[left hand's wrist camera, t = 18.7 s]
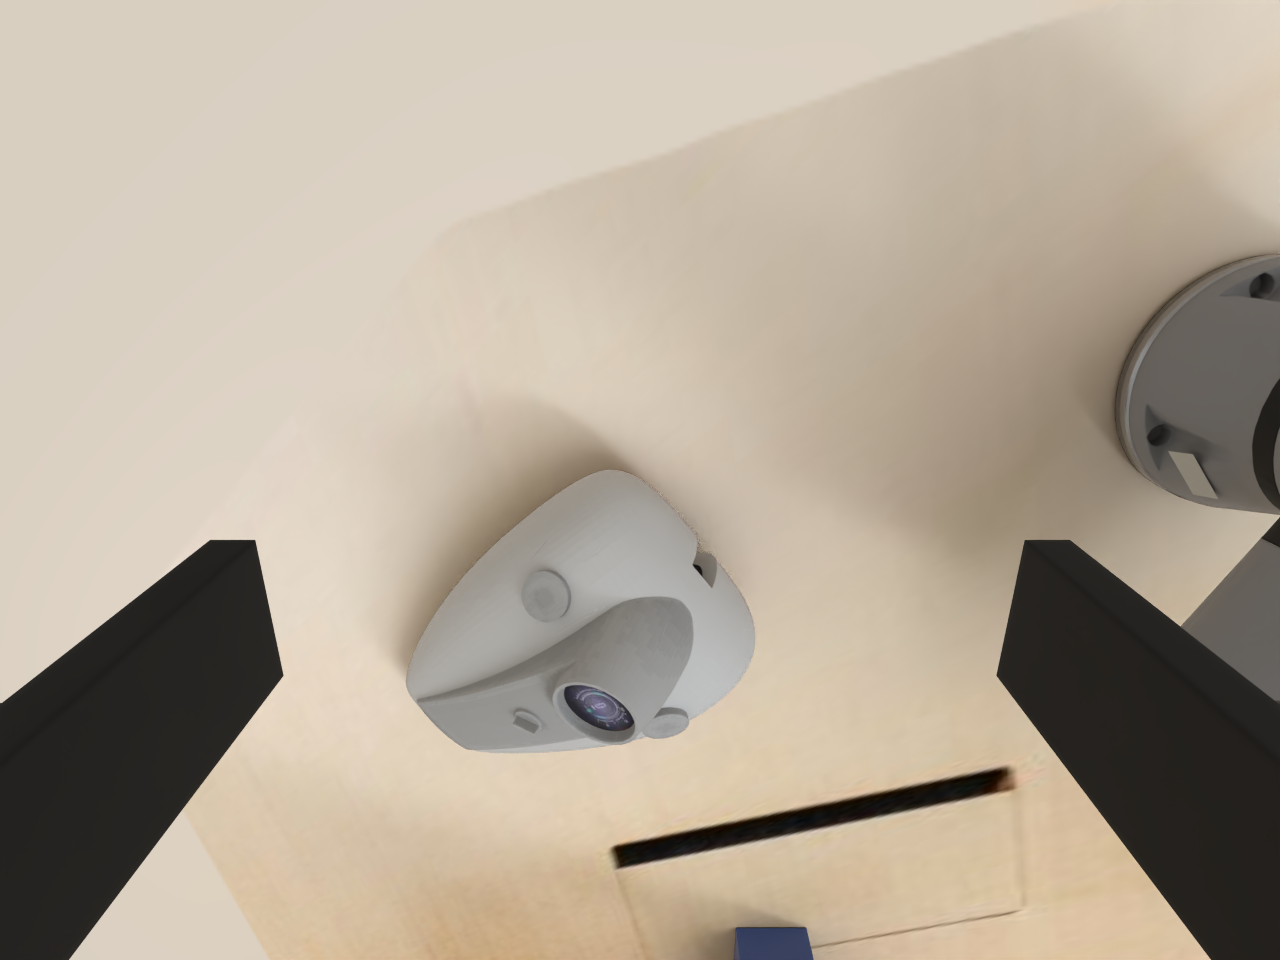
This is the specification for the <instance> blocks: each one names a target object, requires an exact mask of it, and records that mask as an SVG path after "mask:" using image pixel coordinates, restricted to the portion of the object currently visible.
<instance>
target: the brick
mask: <svg viewBox="0 0 1280 960" xmlns="http://www.w3.org/2000/svg"><path fill="white" fill-rule="evenodd" d="M734 960H814V959H813V955H812V951H811V946H810V942H809V938H808V933H807V929H806V928H736V934H735V950H734Z"/></svg>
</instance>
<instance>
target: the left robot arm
mask: <svg viewBox="0 0 1280 960" xmlns="http://www.w3.org/2000/svg"><path fill="white" fill-rule="evenodd" d="M1115 415H1116V425H1117V431H1118V435H1119V439H1120V442H1121V444H1122V447H1123V449H1124V451H1125V453H1126V455H1127V457H1128V458H1129V460H1130V461H1131V463H1132V464H1133V465H1134V467H1135V468H1136V469H1137V470H1138V471H1139V472H1140V473H1141V474H1142V475H1143V476H1145V477H1146V478H1147V479H1148V480H1150V481H1151V482H1153V483H1154V484H1156V485H1157V486H1159V487H1161V488H1163V489H1165V490H1167V491H1168V492H1170V493H1172V494H1174V495H1177V496H1179V497H1181V498H1184V499H1187V500H1190V501H1193V502H1196V503H1199V504H1203V505H1206V506H1211V507H1217V508H1226V509H1235V510H1243V511H1252V512H1260V513H1269V514H1277V515H1280V254H1275V255H1263V256H1257V257H1252V258H1248V259H1244V260H1240V261H1237V262H1234V263H1231V264H1228V265H1226V266H1223V267H1221V268H1219V269H1217V270H1214V271H1212V272H1210V273H1209V274H1207V275H1205V276H1203V277H1201V278H1200V279H1198V280H1196V281H1195V282H1193V283H1192V284H1190V285H1189V286H1187V287H1186V288H1185V289H1183V290H1182V291H1181V292H1179V293H1178V294H1177V295H1176V296H1175V297H1173V298H1172V299H1171V300H1170V301H1169V302H1168V303H1167V304H1166V305H1165V306H1164V307H1163V308H1162V309H1161V310H1160V311H1159V312H1158V313H1157V314H1156V315H1155V316H1154V317H1153V319H1152V320H1151V321H1150V322H1149V324H1148V325H1147V326H1146V327H1145V329H1144V330H1143V332H1142V333H1141V335H1140V336H1139V337H1138V339H1137V341H1136V343H1135V344H1134V346H1133V348H1132V350H1131V352H1130V354H1129V356H1128V358H1127V360H1126V362H1125V365H1124V368H1123V370H1122V373H1121V377H1120V380H1119V384H1118V389H1117V395H1116V405H1115ZM1271 543H1272V544H1271ZM1273 544H1274V545H1273ZM1275 545H1276V546H1275ZM1277 546H1278V547H1277ZM1279 547H1280V518H1279V519H1278V520H1277V521H1276V522H1275V523H1274V524H1273V526H1272V527H1271V528H1270V529H1269V530H1268V531H1267V532H1266V533H1265V535H1264V536H1262V537H1261V539H1260V540H1259V541H1258V542H1257V543H1256V544H1255V546H1254V547H1253V548H1252V549H1251V550H1250V551H1249V552H1248V553H1247V554H1246V555H1245V556H1244V558H1243V559H1242V560H1241V561H1240V562H1239V563H1238V564H1237V565H1236V566H1235V567H1234V569H1233V570H1232V571H1231V572H1230V573H1229V574H1228V575H1227V576H1226V577H1225V578H1224V580H1223V581H1222V582H1221V583H1220V584H1219V585H1218V586H1217V587H1216V588H1215V589H1214V591H1213V592H1212V593H1211V594H1210V595H1209V596H1208V597H1207V598H1206V599H1205V600H1204V602H1203V603H1202V604H1201V605H1200V606H1199V607H1198V608H1197V609H1196V610H1195V611H1194V612H1193V614H1192V615H1191V616H1190V617H1189V618H1188V619H1187V620H1186V621H1185V622H1184V623H1183V625H1182V626H1181V627H1180V626H1179V625H1178V624H1176V623H1175V622H1174V621H1172V620H1171V619H1170V618H1169V617H1167V616H1166V615H1165V614H1164V613H1162V612H1161V611H1160V610H1158V609H1157V608H1156V607H1155V606H1153V605H1152V604H1151V603H1149V602H1148V601H1147V600H1146V599H1144V598H1143V597H1142V596H1141V595H1139V594H1138V593H1137V592H1135V591H1134V590H1133V589H1132V588H1130V587H1129V586H1128V585H1126V584H1125V583H1124V582H1123V581H1121V580H1120V579H1119V578H1118V577H1116V576H1115V575H1114V574H1112V573H1111V572H1110V571H1109V570H1107V569H1106V568H1105V567H1103V566H1102V565H1101V564H1100V563H1098V562H1097V561H1096V560H1095V559H1093V558H1092V557H1091V556H1089V555H1088V554H1087V553H1086V552H1084V551H1083V550H1082V549H1081V548H1079V547H1078V546H1077V545H1075V544H1074V543H1073V542H1072V541H1070V540H1025V542H1024V546H1023V551H1022V556H1021V561H1020V566H1019V570H1018V575H1017V580H1016V585H1015V590H1014V594H1013V599H1012V604H1011V609H1010V614H1009V618H1008V623H1007V628H1006V633H1005V638H1004V642H1003V647H1002V652H1001V657H1000V662H999V666H998V671H997V677H998V678H999V680H1000V681H1001V682H1002V684H1003V685H1004V686H1005V687H1006V689H1007V690H1008V691H1009V693H1010V694H1011V695H1012V697H1013V698H1014V699H1015V701H1016V702H1017V703H1018V705H1019V706H1020V707H1021V709H1022V710H1023V711H1024V713H1025V714H1026V715H1027V717H1028V718H1029V719H1030V721H1031V722H1032V723H1033V725H1034V726H1035V727H1036V729H1037V730H1038V731H1039V732H1040V734H1041V735H1042V736H1043V738H1044V739H1045V740H1046V742H1047V743H1048V744H1049V746H1050V747H1051V748H1052V750H1053V751H1054V752H1055V754H1056V755H1057V756H1058V758H1059V759H1060V760H1061V762H1062V763H1063V764H1064V766H1065V767H1066V768H1067V770H1068V771H1069V772H1070V774H1071V775H1072V776H1073V778H1074V779H1075V780H1076V781H1077V783H1078V784H1079V785H1080V787H1081V788H1082V789H1083V791H1084V792H1085V793H1086V795H1087V796H1088V797H1089V799H1090V800H1091V801H1092V803H1093V804H1094V805H1095V807H1096V808H1097V809H1098V811H1099V812H1100V813H1101V815H1102V816H1103V817H1104V819H1105V820H1106V821H1107V823H1108V824H1109V825H1110V826H1111V828H1112V829H1113V830H1114V832H1115V833H1116V834H1117V836H1118V837H1119V838H1120V840H1121V841H1122V842H1123V844H1124V845H1125V846H1126V848H1127V849H1128V850H1129V852H1130V853H1131V854H1132V856H1133V857H1134V858H1135V860H1136V861H1137V862H1138V864H1139V865H1140V866H1141V868H1142V869H1143V870H1144V871H1145V873H1146V874H1147V875H1148V877H1149V878H1150V879H1151V881H1152V882H1153V883H1154V885H1155V886H1156V887H1157V889H1158V890H1159V891H1160V893H1161V894H1162V895H1163V897H1164V898H1165V899H1166V901H1167V902H1168V903H1169V905H1170V906H1171V907H1172V909H1173V910H1174V911H1175V913H1176V914H1177V915H1178V916H1179V918H1180V919H1181V920H1182V922H1183V923H1184V924H1185V926H1186V927H1187V928H1188V930H1189V931H1190V932H1191V934H1192V935H1193V936H1194V938H1195V939H1196V940H1197V942H1198V943H1199V944H1200V946H1201V947H1202V948H1203V950H1204V951H1205V952H1206V954H1207V955H1208V956H1209V958H1210V959H1211V960H1280V548H1279ZM282 677H283V671H282V666H281V662H280V657H279V652H278V647H277V642H276V638H275V633H274V628H273V623H272V618H271V614H270V609H269V604H268V599H267V594H266V590H265V585H264V580H263V575H262V570H261V566H260V561H259V556H258V551H257V546H256V542H255V540H210V541H208V542H207V543H206V544H205V545H203V546H202V547H201V548H199V549H198V550H197V551H196V552H194V553H193V554H192V555H191V556H189V557H188V558H187V559H185V560H184V561H183V562H182V563H180V564H179V565H178V566H176V567H175V568H174V569H173V570H171V571H170V572H169V573H168V574H166V575H165V576H164V577H162V578H161V579H160V580H159V581H157V582H156V583H155V584H154V585H152V586H151V587H150V588H148V589H147V590H146V591H145V592H143V593H142V594H141V595H139V596H138V597H137V598H136V599H134V600H133V601H132V602H131V603H129V604H128V605H127V606H125V607H124V608H123V609H122V610H120V611H119V612H118V613H116V614H115V615H114V616H113V617H111V618H110V619H109V620H108V621H106V622H105V623H104V624H102V625H101V626H100V627H99V628H97V629H96V630H95V631H93V632H92V633H91V634H90V635H88V636H87V637H86V638H85V639H83V640H82V641H81V642H79V643H78V644H77V645H76V646H74V647H73V648H72V649H70V650H69V651H68V652H67V653H65V654H64V655H63V656H62V657H60V658H59V659H58V660H56V661H55V662H54V663H53V664H51V665H50V666H49V667H47V668H46V669H45V670H44V671H42V672H41V673H40V674H39V675H37V676H36V677H35V678H33V679H32V680H31V681H30V682H28V683H27V684H26V685H24V686H23V687H22V688H21V689H19V690H18V691H17V692H16V693H14V694H13V695H12V696H11V697H9V698H8V699H7V700H5V701H4V702H3V703H0V960H69V959H70V957H71V956H72V955H73V954H74V952H75V951H76V950H77V948H78V947H79V946H80V944H81V943H82V942H83V940H84V939H85V938H86V936H87V935H88V934H89V932H90V931H91V930H92V928H93V927H94V926H95V924H96V923H97V922H98V920H99V919H100V918H101V916H102V915H103V914H104V912H105V911H106V910H107V909H108V907H109V906H110V904H111V903H112V902H113V901H114V899H115V898H116V897H117V895H118V894H119V893H120V891H121V890H122V889H123V887H124V886H125V885H126V883H127V882H128V881H129V879H130V878H131V877H132V875H133V874H134V873H135V871H136V870H137V869H138V868H139V866H140V865H141V864H142V862H143V861H144V860H145V858H146V857H147V856H148V854H149V853H150V852H151V850H152V849H153V848H154V846H155V845H156V844H157V842H158V841H159V840H160V838H161V837H162V836H163V834H164V833H165V832H166V830H167V829H168V828H169V826H170V825H171V824H172V823H173V821H174V820H175V818H176V817H177V816H178V814H179V813H180V812H181V811H182V809H183V808H184V807H185V805H186V804H187V803H188V801H189V800H190V799H191V797H192V796H193V795H194V793H195V792H196V791H197V789H198V788H199V787H200V785H201V784H202V783H203V781H204V780H205V779H206V777H207V776H208V775H209V774H210V772H211V771H212V770H213V768H214V767H215V766H216V764H217V763H218V762H219V760H220V759H221V758H222V756H223V755H224V754H225V752H226V751H227V750H228V748H229V747H230V746H231V744H232V743H233V742H234V740H235V739H236V738H237V736H238V735H239V734H240V732H241V731H242V730H243V729H244V727H245V726H246V725H247V723H248V722H249V721H250V719H251V718H252V717H253V715H254V714H255V713H256V711H257V710H258V709H259V707H260V706H261V705H262V703H263V702H264V701H265V699H266V698H267V697H268V695H269V694H270V693H271V691H272V690H273V689H274V687H275V686H276V685H277V684H278V682H279V681H280V680H281V678H282Z"/></svg>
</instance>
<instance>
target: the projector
mask: <svg viewBox="0 0 1280 960" xmlns="http://www.w3.org/2000/svg"><path fill="white" fill-rule="evenodd" d="M697 546H698V541H697V536H696V534H695V533H694V531H693V530H692V529H691V528H690V527H689V526H688V524H687V523H686V522H685V521H684V520H683V519H682V517H681V516H680V515H679V514H678V513H677V512H676V511H675V510H674V508H673V507H672V506H671V505H670V504H669V503H668V502H667V501H666V500H665V499H664V498H663V497H662V496H661V495H660V494H659V493H657V492H656V491H655V490H654V489H653V488H652V487H651V486H649V485H648V484H647V483H645V482H644V481H643V480H641V479H640V478H638V477H636V476H634V475H632V474H629V473H626V472H623V471H619V470H602V471H598V472H595V473H592V474H590V475H588V476H586V477H584V478H582V479H580V480H578V481H576V482H575V483H573V484H571V485H570V486H568V487H566V488H565V489H563V490H562V491H560V492H559V493H557V494H556V495H555V496H553V497H552V498H550V499H549V500H548V501H546V502H545V503H544V504H542V505H541V506H540V507H538V508H537V509H536V510H534V511H533V512H532V513H531V514H529V515H528V516H527V517H526V518H524V519H523V520H522V521H521V522H520V523H518V524H517V525H516V526H515V527H514V528H513V529H511V530H510V531H509V532H508V533H507V534H506V535H505V536H503V537H502V538H501V539H500V540H499V541H498V542H497V543H496V544H495V545H493V546H492V547H491V548H490V549H489V550H488V551H487V552H486V553H485V554H484V555H483V556H482V557H481V558H480V559H479V560H478V561H477V562H476V563H475V564H474V565H473V567H472V568H471V569H470V570H469V571H468V572H467V573H466V574H465V575H464V576H463V577H462V579H461V580H460V581H459V582H458V584H457V585H456V586H455V587H454V589H453V590H452V591H451V592H450V594H449V595H448V596H447V597H446V599H445V600H444V602H443V603H442V604H441V606H440V607H439V609H438V610H437V612H436V613H435V615H434V616H433V618H432V619H431V621H430V623H429V624H428V626H427V628H426V629H425V631H424V633H423V635H422V637H421V638H420V640H419V642H418V644H417V647H416V649H415V651H414V653H413V656H412V658H411V661H410V665H409V668H408V672H407V677H406V686H407V690H408V692H409V694H410V695H411V697H412V699H413V700H414V701H415V702H416V704H417V705H418V706H419V707H420V708H421V709H422V710H423V712H424V713H425V714H426V715H427V717H428V718H429V719H430V720H431V721H432V722H433V723H434V724H435V725H436V726H437V727H438V728H439V729H440V730H441V731H442V732H443V733H444V734H445V735H447V736H448V737H449V738H450V739H452V740H453V741H454V742H456V743H457V744H459V745H460V746H462V747H463V748H465V749H468V750H476V751H480V752H491V753H540V752H556V751H570V750H581V749H588V748H596V747H604V746H609V745H621V744H626V743H629V742H631V741H633V740H637V739H641V738H645V737H649V738H656V739H660V738H668V737H671V736H674V735H677V734H679V733H681V732H682V731H684V730H685V729H686V728H687V727H688V725H689V720H691V719H693V718H695V717H697V716H698V715H700V714H702V713H704V712H705V711H706V710H708V709H709V708H711V707H712V706H714V705H715V704H716V703H718V702H719V701H720V700H721V699H722V698H723V697H724V696H726V695H727V694H728V693H729V692H730V691H731V690H732V689H733V688H734V686H735V685H736V684H737V683H738V682H739V681H740V679H741V678H742V676H743V675H744V673H745V671H746V670H747V668H748V666H749V664H750V661H751V659H752V656H753V653H754V648H755V628H754V623H753V619H752V616H751V613H750V610H749V608H748V605H747V603H746V601H745V599H744V598H743V596H742V594H741V592H740V591H739V589H738V588H737V586H736V585H735V583H734V582H733V580H732V579H731V578H730V576H729V575H728V574H727V572H726V571H725V570H724V568H723V567H722V566H721V565H720V563H719V562H718V561H717V560H716V558H715V557H714V556H713V555H711V554H709V553H696V552H697Z"/></svg>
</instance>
